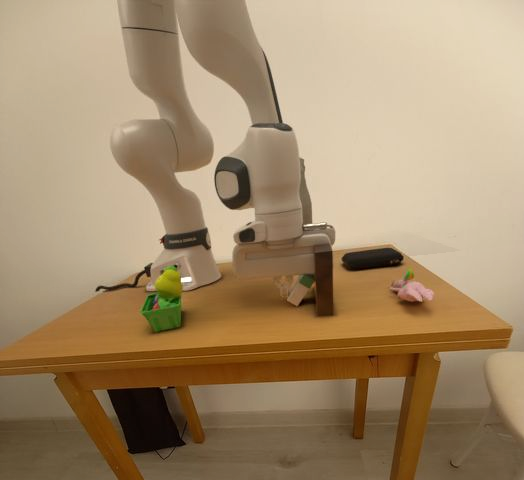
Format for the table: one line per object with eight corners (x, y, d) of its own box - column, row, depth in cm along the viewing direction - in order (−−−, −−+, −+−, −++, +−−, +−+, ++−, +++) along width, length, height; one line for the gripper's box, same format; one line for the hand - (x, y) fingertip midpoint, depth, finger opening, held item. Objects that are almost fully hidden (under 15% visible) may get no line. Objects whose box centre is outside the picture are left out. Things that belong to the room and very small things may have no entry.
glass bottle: (310, 254, 99) (306, 155, 85) (316, 261, 90) (313, 152, 76) (281, 258, 99) (272, 160, 85) (284, 266, 90) (275, 158, 76)
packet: (287, 307, 62) (285, 275, 59) (288, 299, 66) (286, 269, 63) (315, 305, 61) (314, 273, 58) (314, 297, 65) (313, 267, 62)
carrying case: (349, 273, 76) (407, 266, 75) (349, 261, 75) (409, 254, 74) (340, 263, 85) (392, 256, 84) (340, 252, 84) (393, 245, 83)
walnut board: (317, 316, 56) (314, 252, 50) (314, 288, 70) (311, 235, 64) (333, 315, 56) (332, 250, 50) (327, 287, 70) (325, 233, 64)
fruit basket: (153, 315, 68) (137, 266, 63) (191, 307, 69) (179, 259, 64) (148, 336, 59) (127, 281, 53) (192, 327, 60) (177, 272, 54)
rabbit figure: (383, 295, 64) (405, 312, 51) (384, 267, 62) (408, 277, 48) (413, 292, 63) (445, 309, 50) (415, 264, 61) (449, 273, 48)
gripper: (334, 218, 57) (333, 287, 64) (232, 229, 61) (242, 293, 68) (336, 223, 52) (336, 297, 59) (224, 235, 55) (236, 304, 62)
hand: (285, 295), depth 63 cm, fingers closed, pressing on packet
